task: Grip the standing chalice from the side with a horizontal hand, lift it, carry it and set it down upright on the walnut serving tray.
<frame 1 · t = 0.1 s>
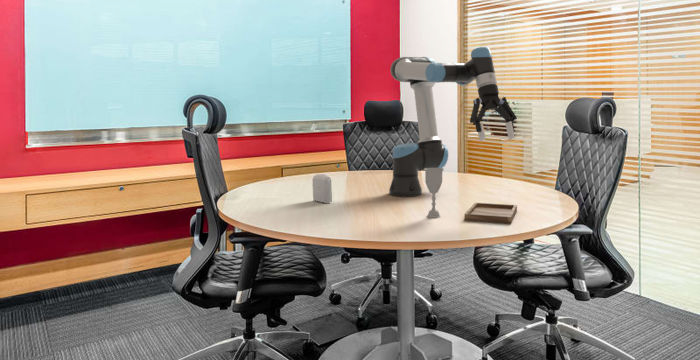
hand: (497, 139, 193), 28 cm above the table, tool tilted 20°, fingers open, 13 cm apart
chalice: (433, 217, 190), on the table
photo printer: (322, 202, 222), on the table
tray: (491, 215, 189), on the table
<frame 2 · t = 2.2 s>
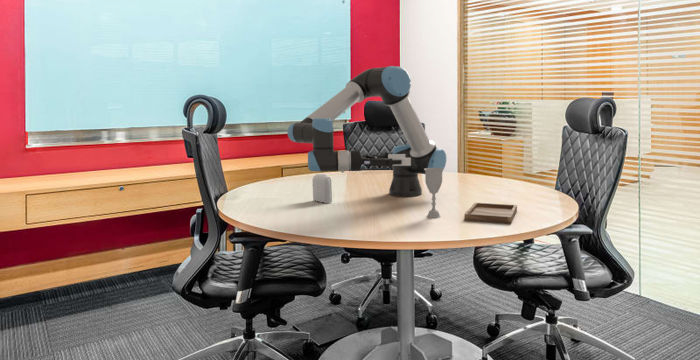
hand: (407, 159, 186), 22 cm above the table, tool horizontal, fingers open, 13 cm apart
nothing on the table moved.
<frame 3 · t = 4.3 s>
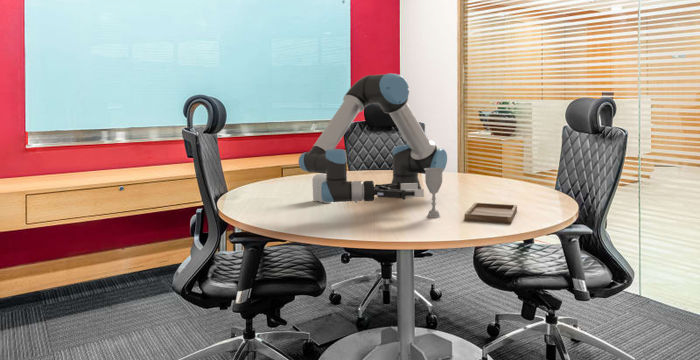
hand: (420, 189, 187), 10 cm above the table, tool horizontal, fingers open, 13 cm apart
nothing on the table moved.
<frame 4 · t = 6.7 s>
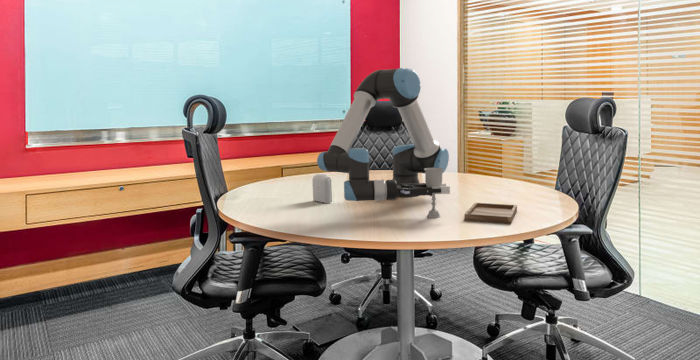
hand: (447, 188, 188), 10 cm above the table, tool horizontal, fingers closed on chalice, 6 cm apart
chalice: (433, 217, 190), on the table, touching gripper
everything else where it was.
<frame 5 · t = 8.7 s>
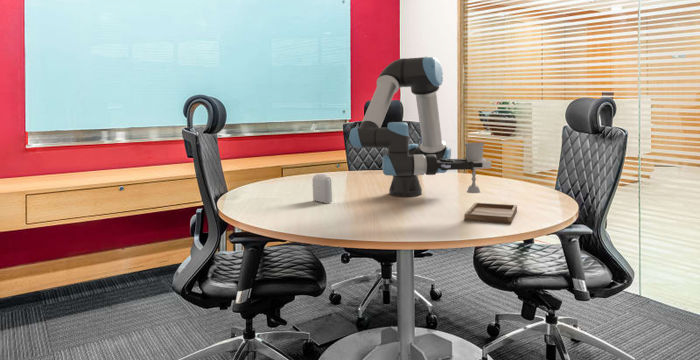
hand: (488, 163, 184), 20 cm above the table, tool horizontal, fingers closed on chalice, 6 cm apart
chalice: (473, 192, 186), point 9 cm above the table, touching gripper
everything else where it was.
when the fingers open (13 cm above the table, at t = 10.8 s): chalice drops 1 cm, resting on tray.
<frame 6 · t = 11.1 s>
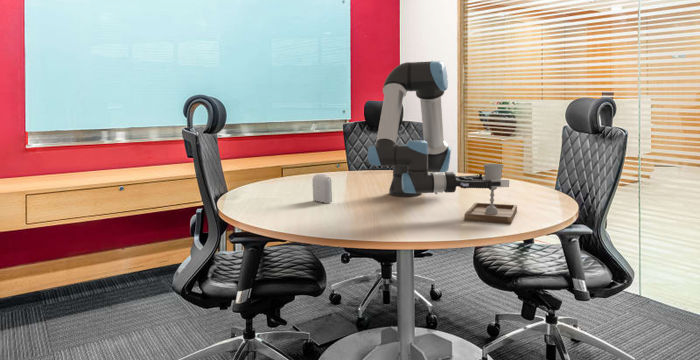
hand: (504, 181, 187), 13 cm above the table, tool horizontal, fingers open, 9 cm apart
chalice: (491, 213, 189), point 1 cm above the table, touching tray
everything else where it was.
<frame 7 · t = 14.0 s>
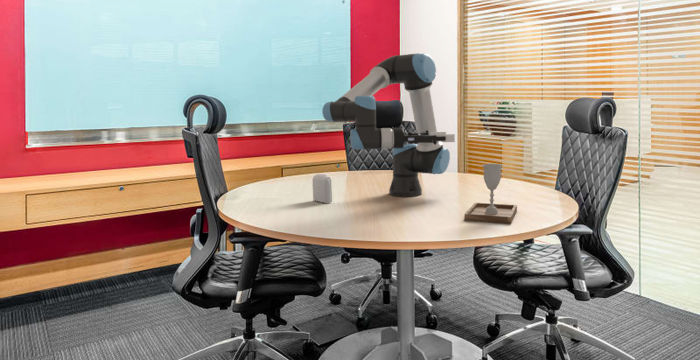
hand: (450, 136, 186), 30 cm above the table, tool horizontal, fingers open, 13 cm apart
nothing on the table moved.
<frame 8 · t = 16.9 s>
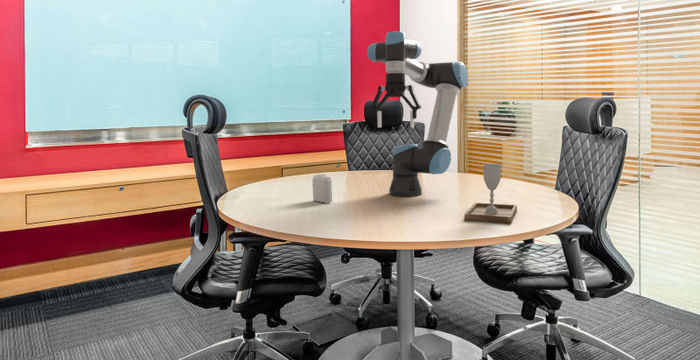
hand: (395, 127, 201), 33 cm above the table, tool pointing down, fingers open, 13 cm apart
nothing on the table moved.
at the end: chalice inside the target area on the tray (0.1 cm from its centre), point 0.8 cm above the tray's base; chalice tilted 1°; the gripper is holding nothing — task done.
